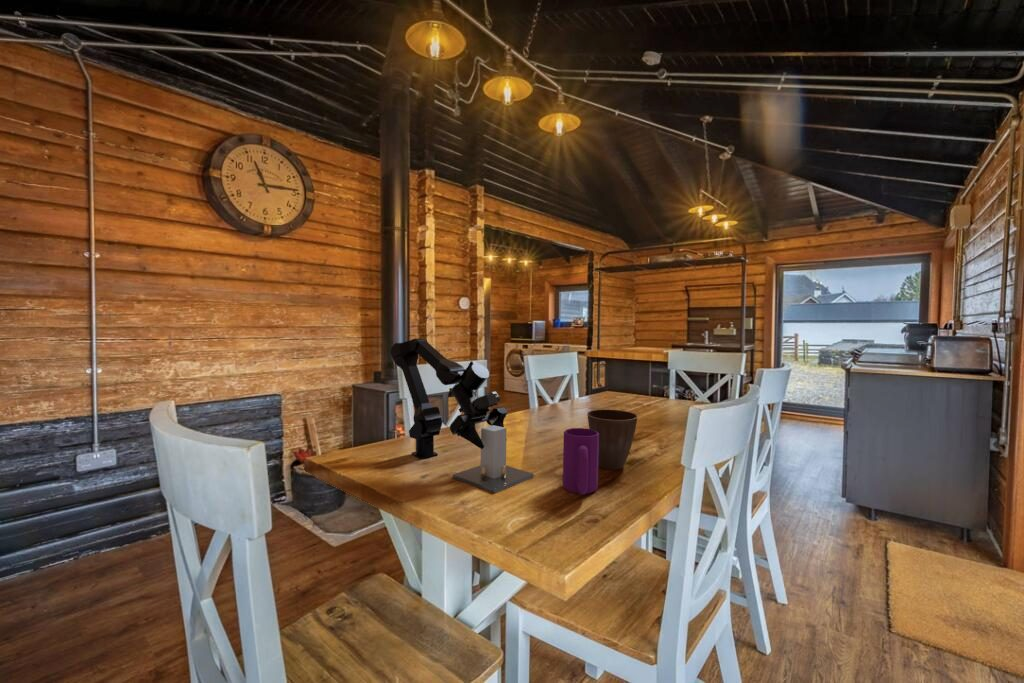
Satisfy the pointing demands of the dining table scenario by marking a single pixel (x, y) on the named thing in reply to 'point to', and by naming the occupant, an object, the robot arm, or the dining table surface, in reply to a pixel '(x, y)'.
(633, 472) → the dining table surface
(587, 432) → the mug
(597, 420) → the plant pot
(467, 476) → the plate
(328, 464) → the dining table surface
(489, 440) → the block
